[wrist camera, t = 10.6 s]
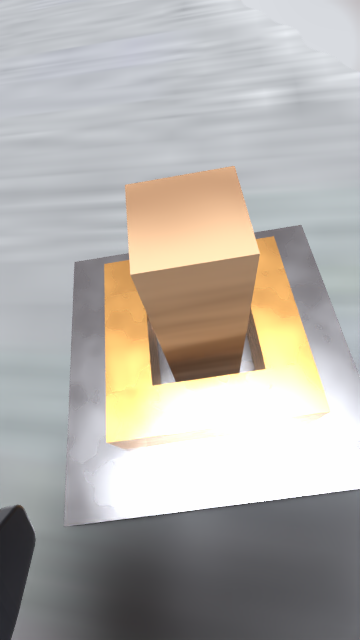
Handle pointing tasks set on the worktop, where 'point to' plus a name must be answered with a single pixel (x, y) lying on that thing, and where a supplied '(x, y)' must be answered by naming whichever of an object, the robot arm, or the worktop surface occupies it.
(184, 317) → the tan square block
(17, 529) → the robot arm
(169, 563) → the worktop surface
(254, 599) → the worktop surface
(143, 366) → the square socket
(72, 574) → the worktop surface
